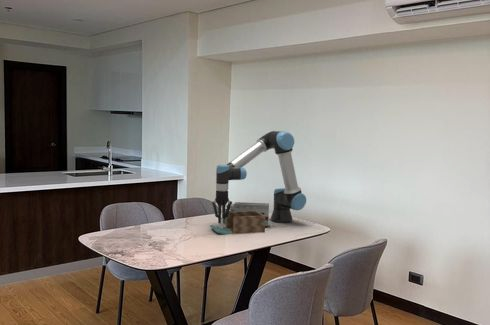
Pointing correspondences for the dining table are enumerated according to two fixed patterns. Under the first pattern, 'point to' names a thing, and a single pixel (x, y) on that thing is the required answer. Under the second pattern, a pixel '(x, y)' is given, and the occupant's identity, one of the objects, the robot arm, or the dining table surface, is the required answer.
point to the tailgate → (220, 230)
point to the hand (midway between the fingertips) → (221, 228)
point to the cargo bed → (245, 222)
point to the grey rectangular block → (250, 209)
